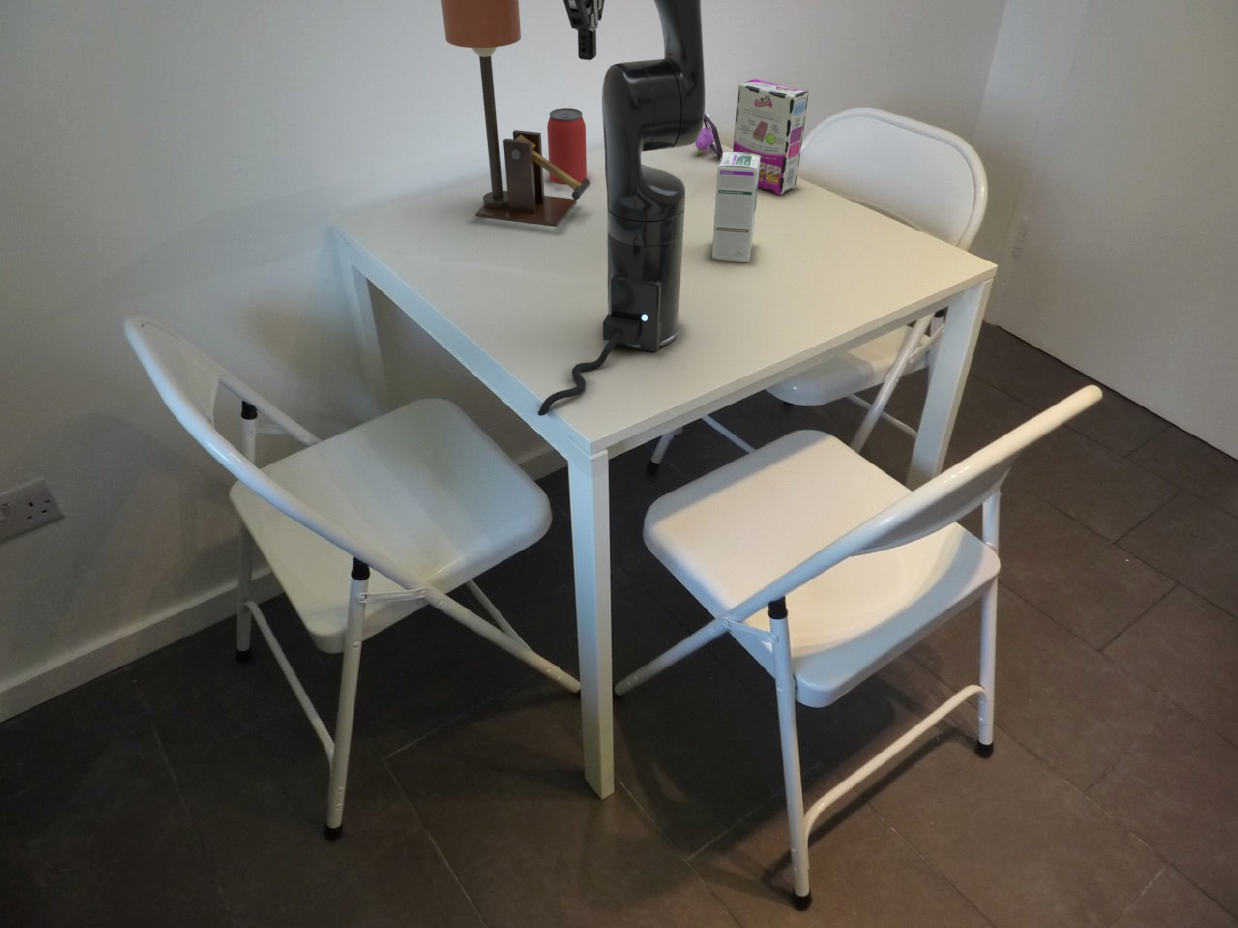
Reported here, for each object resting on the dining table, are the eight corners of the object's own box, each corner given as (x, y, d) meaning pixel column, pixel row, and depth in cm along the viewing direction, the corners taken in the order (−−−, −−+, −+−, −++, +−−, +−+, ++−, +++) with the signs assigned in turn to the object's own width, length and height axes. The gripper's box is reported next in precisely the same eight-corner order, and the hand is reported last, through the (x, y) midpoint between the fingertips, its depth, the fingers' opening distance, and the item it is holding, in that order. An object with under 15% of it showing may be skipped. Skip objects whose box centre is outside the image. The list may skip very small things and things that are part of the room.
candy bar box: (797, 188, 148) (810, 90, 138) (781, 196, 145) (793, 97, 135) (745, 172, 154) (754, 77, 143) (729, 179, 151) (737, 83, 140)
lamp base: (577, 208, 141) (574, 130, 133) (557, 233, 134) (553, 152, 126) (500, 198, 144) (493, 122, 136) (476, 222, 137) (467, 142, 129)
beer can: (544, 187, 148) (540, 117, 140) (557, 173, 153) (554, 105, 145) (579, 192, 147) (577, 121, 139) (591, 178, 151) (590, 109, 144)
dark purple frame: (720, 125, 153) (706, 110, 160) (693, 137, 154) (681, 121, 160) (728, 159, 158) (715, 143, 164) (702, 170, 158) (690, 153, 165)
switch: (586, 191, 136) (593, 179, 135) (575, 204, 132) (582, 192, 131) (518, 143, 135) (524, 131, 133) (505, 155, 131) (511, 142, 129)
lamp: (517, 220, 134) (499, -5, 113) (454, 211, 136) (425, -11, 116) (541, 194, 142) (529, -21, 121) (481, 186, 144) (459, -26, 124)
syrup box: (749, 263, 126) (759, 167, 117) (709, 259, 127) (717, 164, 118) (752, 246, 130) (762, 153, 121) (714, 243, 131) (721, 150, 122)
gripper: (573, -93, 115) (577, 45, 126) (539, -79, 105) (546, 68, 117) (626, -90, 114) (625, 49, 125) (596, -76, 104) (598, 73, 115)
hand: (587, 58), depth 121 cm, fingers closed
